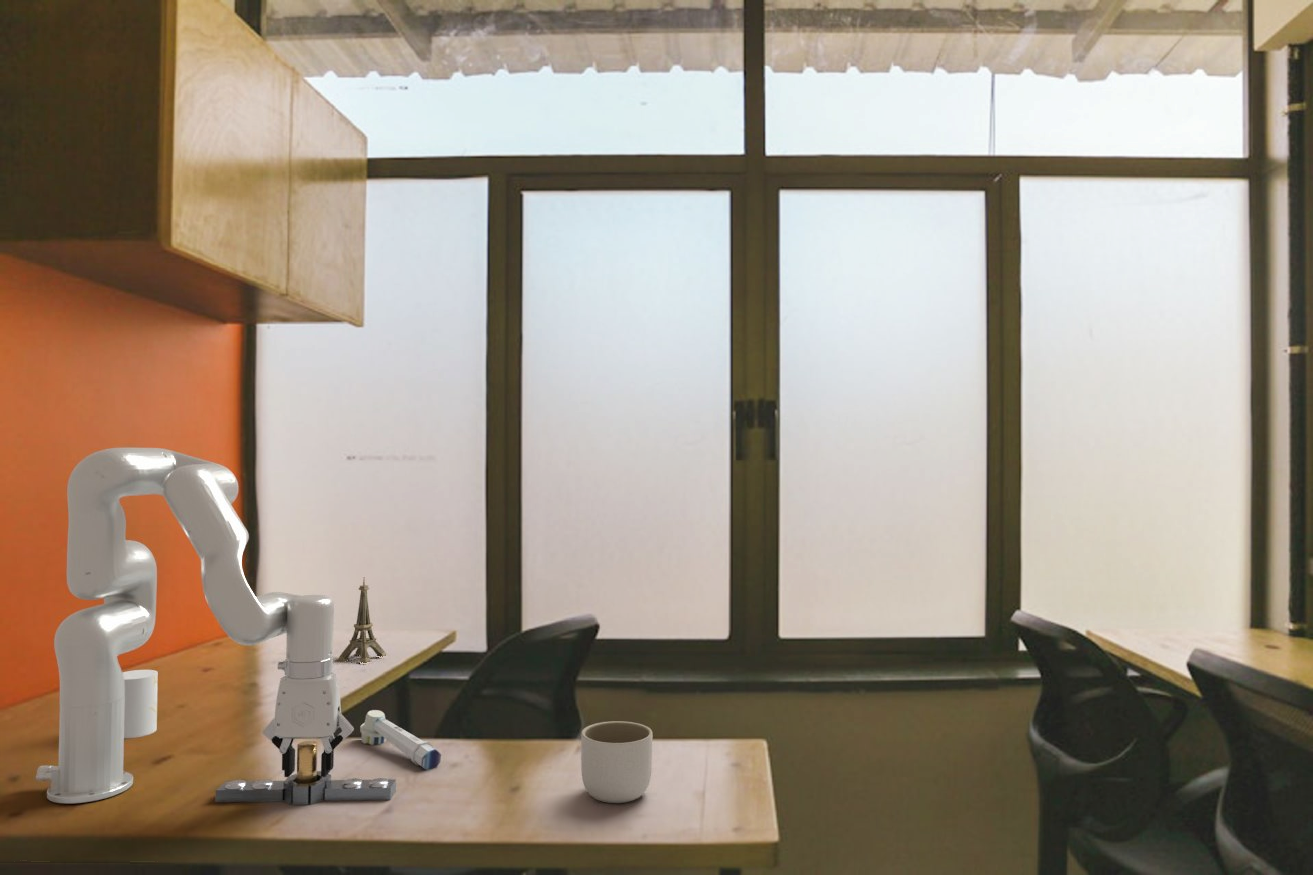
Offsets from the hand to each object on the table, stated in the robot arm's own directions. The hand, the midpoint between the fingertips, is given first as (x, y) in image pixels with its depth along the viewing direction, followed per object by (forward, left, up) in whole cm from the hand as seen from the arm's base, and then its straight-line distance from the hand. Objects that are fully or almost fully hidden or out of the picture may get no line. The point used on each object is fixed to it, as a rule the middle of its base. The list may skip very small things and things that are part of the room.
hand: (307, 772), depth 151 cm
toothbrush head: (+10, +22, -4) cm, 25 cm away
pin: (0, 0, -4) cm, 4 cm away
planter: (+53, -1, -4) cm, 53 cm away
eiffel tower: (-17, +100, -4) cm, 102 cm away
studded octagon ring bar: (0, 0, -4) cm, 4 cm away
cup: (-47, +36, -4) cm, 59 cm away
